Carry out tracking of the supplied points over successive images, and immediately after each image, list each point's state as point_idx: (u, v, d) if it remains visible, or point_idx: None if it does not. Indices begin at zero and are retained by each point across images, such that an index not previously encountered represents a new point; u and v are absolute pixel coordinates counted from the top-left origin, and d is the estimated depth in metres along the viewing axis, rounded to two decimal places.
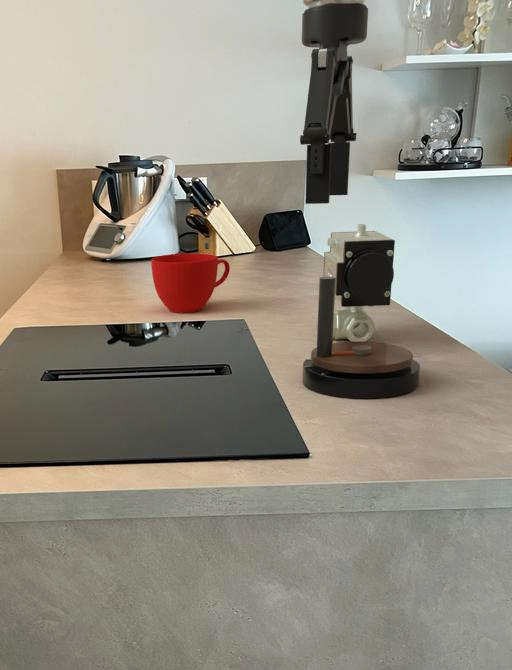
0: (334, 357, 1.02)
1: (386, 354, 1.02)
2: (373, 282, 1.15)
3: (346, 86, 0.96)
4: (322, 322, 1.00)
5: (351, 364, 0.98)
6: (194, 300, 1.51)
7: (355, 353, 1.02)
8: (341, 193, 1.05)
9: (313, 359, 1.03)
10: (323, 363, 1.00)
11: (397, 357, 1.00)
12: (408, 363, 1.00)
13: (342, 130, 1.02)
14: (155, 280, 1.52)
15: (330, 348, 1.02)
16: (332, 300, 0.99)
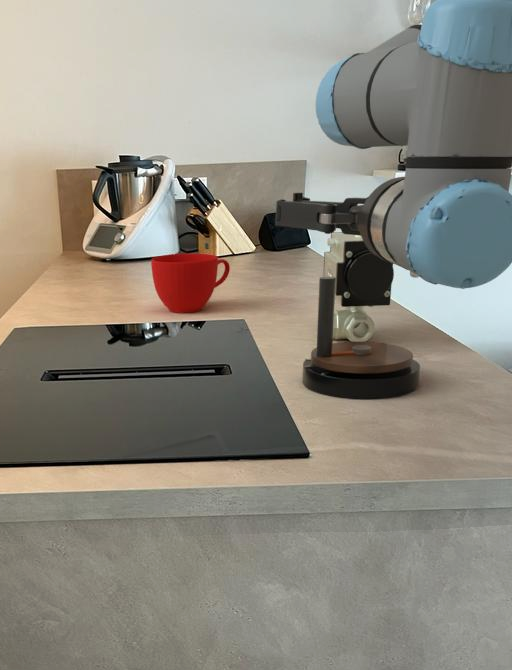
0: (334, 357, 1.02)
1: (386, 354, 1.02)
2: (373, 282, 1.15)
3: None
4: (322, 322, 1.00)
5: (351, 364, 0.98)
6: (194, 300, 1.51)
7: (355, 353, 1.02)
8: None
9: (313, 359, 1.03)
10: (323, 363, 1.00)
11: (397, 357, 1.00)
12: (408, 363, 1.00)
13: None
14: (155, 280, 1.52)
15: (330, 348, 1.02)
16: (332, 300, 0.99)
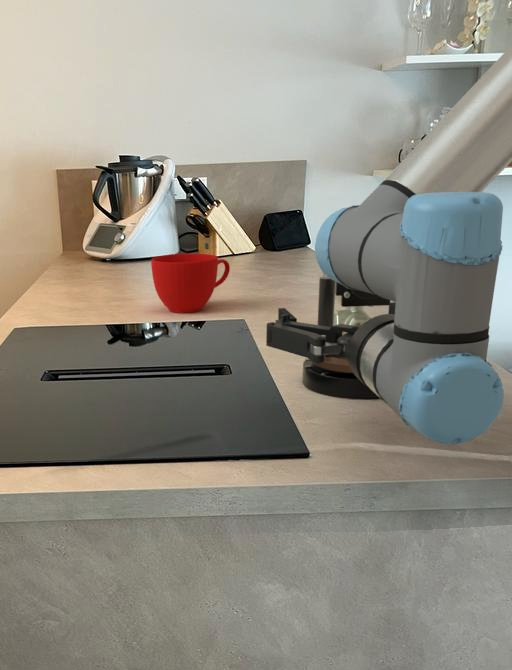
0: None
1: None
2: None
3: None
4: (322, 322, 1.00)
5: None
6: (194, 300, 1.51)
7: None
8: None
9: None
10: (323, 363, 1.00)
11: None
12: None
13: None
14: (155, 280, 1.52)
15: None
16: (332, 300, 0.99)
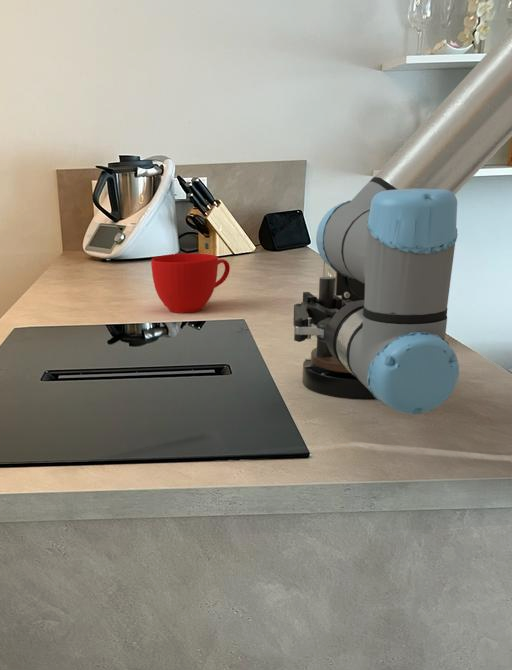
0: None
1: None
2: None
3: None
4: None
5: None
6: (194, 300, 1.51)
7: None
8: None
9: (313, 359, 1.03)
10: (323, 363, 1.00)
11: None
12: None
13: None
14: (155, 280, 1.52)
15: None
16: (332, 300, 0.99)
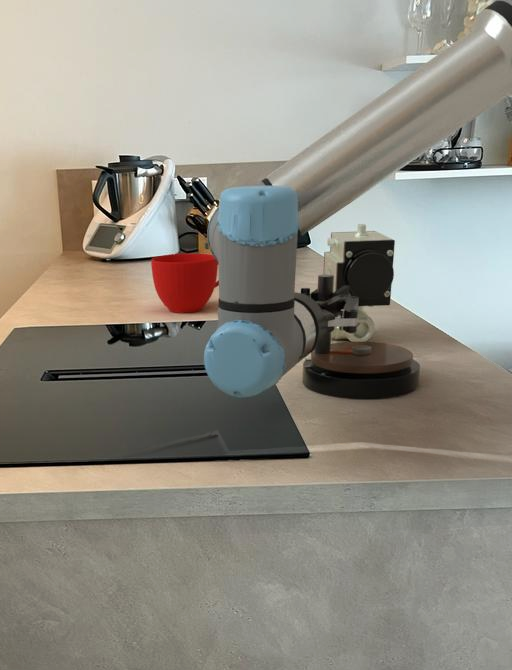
0: (329, 354, 1.03)
1: (383, 356, 1.01)
2: (373, 282, 1.15)
3: None
4: None
5: (335, 362, 1.00)
6: (194, 300, 1.51)
7: (353, 353, 1.03)
8: None
9: None
10: (314, 359, 1.02)
11: (389, 360, 0.99)
12: (398, 367, 0.98)
13: None
14: (155, 280, 1.52)
15: (326, 345, 1.03)
16: (328, 298, 1.01)
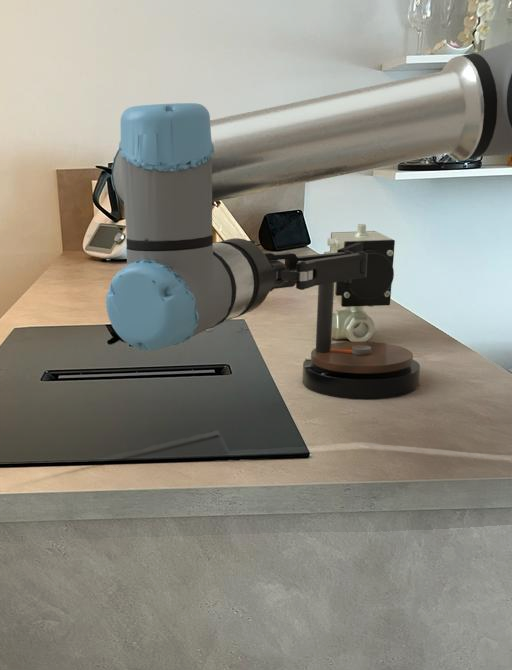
0: (328, 353, 1.04)
1: (381, 357, 1.01)
2: (373, 282, 1.15)
3: None
4: (318, 318, 1.03)
5: (331, 361, 1.00)
6: None
7: (352, 352, 1.03)
8: None
9: None
10: (312, 357, 1.03)
11: (386, 360, 0.99)
12: (393, 368, 0.98)
13: None
14: None
15: (326, 344, 1.04)
16: (328, 297, 1.01)
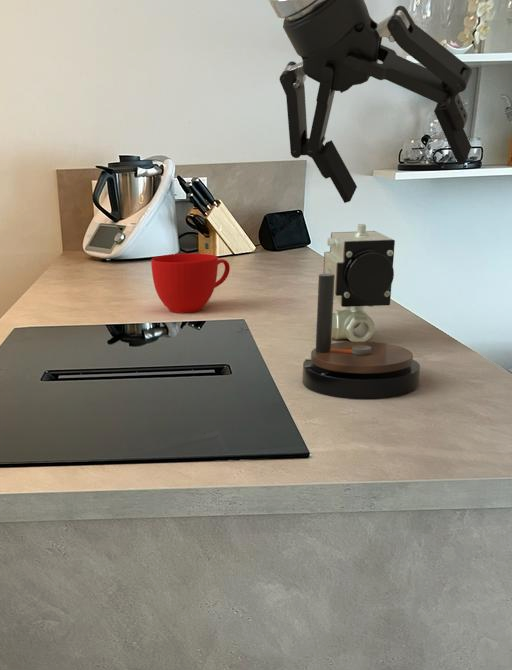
0: (328, 353, 1.04)
1: (381, 357, 1.01)
2: (373, 282, 1.15)
3: None
4: (318, 318, 1.03)
5: (331, 361, 1.00)
6: (194, 300, 1.51)
7: (352, 352, 1.03)
8: (354, 188, 0.92)
9: None
10: (312, 357, 1.03)
11: (386, 360, 0.99)
12: (393, 368, 0.98)
13: (323, 134, 0.88)
14: (155, 280, 1.52)
15: (326, 344, 1.04)
16: (328, 297, 1.01)
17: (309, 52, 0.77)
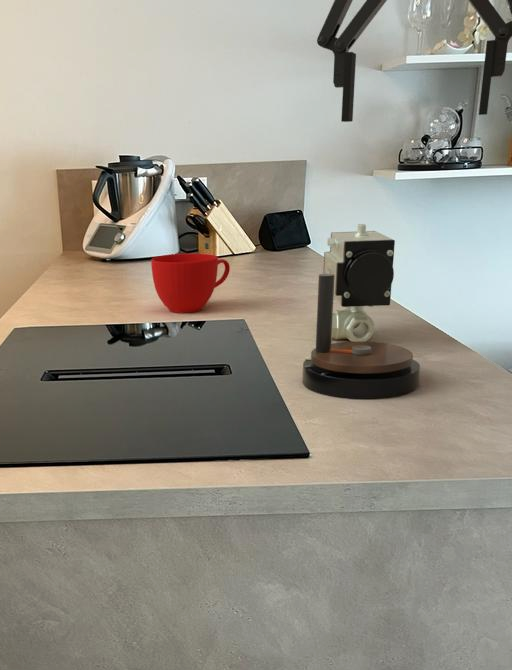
0: (328, 353, 1.04)
1: (381, 357, 1.01)
2: (373, 282, 1.15)
3: None
4: (318, 318, 1.03)
5: (331, 361, 1.00)
6: (194, 300, 1.51)
7: (352, 352, 1.03)
8: (351, 118, 0.85)
9: None
10: (312, 357, 1.03)
11: (386, 360, 0.99)
12: (393, 368, 0.98)
13: (356, 37, 0.82)
14: (155, 280, 1.52)
15: (326, 344, 1.04)
16: (328, 297, 1.01)
17: None
